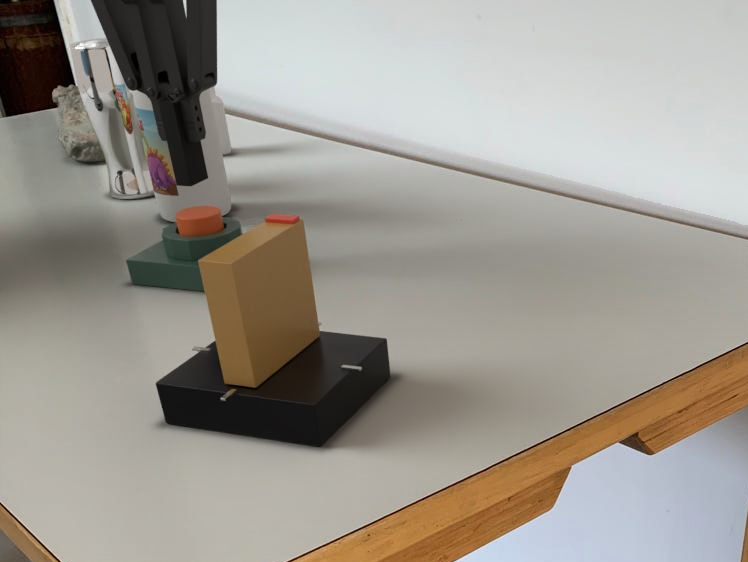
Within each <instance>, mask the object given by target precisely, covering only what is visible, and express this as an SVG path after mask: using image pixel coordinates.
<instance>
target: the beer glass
mask: <svg viewBox="0 0 748 562" xmlns="http://www.w3.org/2000/svg"><path fill="white" fill-rule="evenodd" d="M69 48H70V54H71V59H72V64H73V69H74V75H75V79H76V84H77V86H78V88H79V92H80V95H81V99H82V102H83V105H84V108H85V110H86V113H87V116H88V118H89V121H90V123H91V125H92V128H93V130H94V132H95V135H96V137H97V139H98V142H99V144H100V146H101V149H102V151H103V154H104V157H105V160H106V161H105V164H106V169H107V175H108V187H109V194H110V196H111V197H112V198H114V199H119V200H137V199H144V198H149V197H153V196H155V193H154V189H153V185H152V181H151V176H150V172H149V168H148V164H147V159H146V155H145V151H144V146H143V142H142V137H141V133H140V129H139V124H138V120H137V115H136V110H135V105H134V99H133V91H131V90H129V89H128V88H127V86H126V84H125V82H124V79H123V77H122V74H121V72H120V70H119V67H118V65H117V62H116V60H115V58H114V55H113V53H112V50H111V48H110V46H109V43H108V41H107V38H106V37H102V38H101V37H100V38H92V39H84V40H79V41H75V42H72V43H70V44H69Z"/></svg>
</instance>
